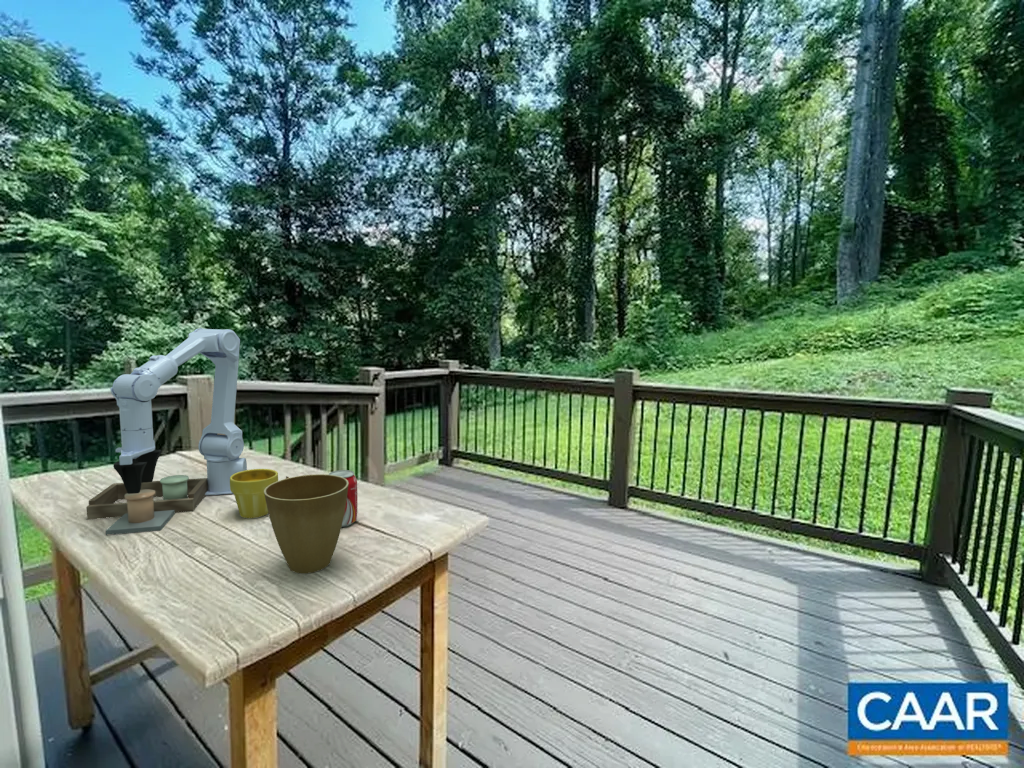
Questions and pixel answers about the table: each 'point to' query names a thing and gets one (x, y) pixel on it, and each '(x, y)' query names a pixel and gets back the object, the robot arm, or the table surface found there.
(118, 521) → the slate slab
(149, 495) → the terracotta pot
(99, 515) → the frame
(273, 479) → the plant pot
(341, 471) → the soda can
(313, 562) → the plant pot
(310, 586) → the table surface
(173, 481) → the green pot
